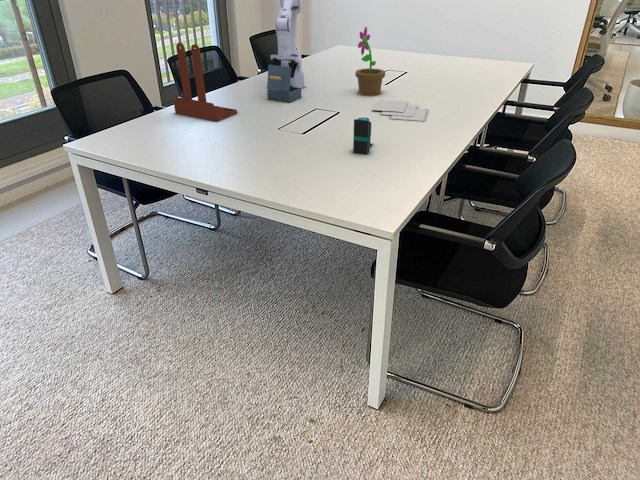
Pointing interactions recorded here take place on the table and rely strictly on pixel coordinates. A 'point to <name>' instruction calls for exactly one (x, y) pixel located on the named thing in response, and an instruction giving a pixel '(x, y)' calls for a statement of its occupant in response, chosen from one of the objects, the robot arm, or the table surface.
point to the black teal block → (362, 136)
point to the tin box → (284, 95)
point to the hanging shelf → (193, 106)
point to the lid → (279, 78)
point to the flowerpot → (368, 71)
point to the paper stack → (400, 110)
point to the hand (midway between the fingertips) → (285, 76)
